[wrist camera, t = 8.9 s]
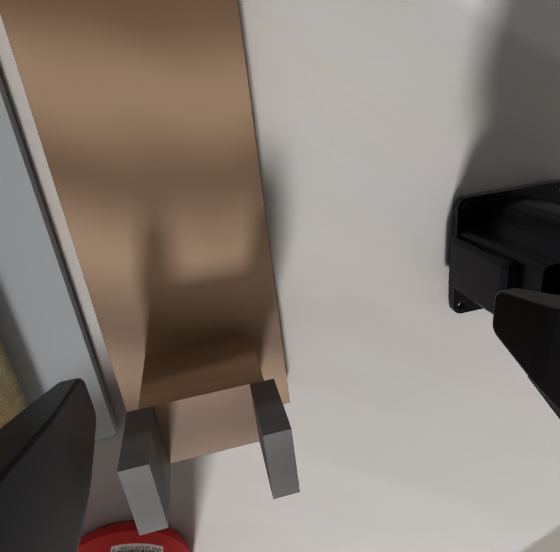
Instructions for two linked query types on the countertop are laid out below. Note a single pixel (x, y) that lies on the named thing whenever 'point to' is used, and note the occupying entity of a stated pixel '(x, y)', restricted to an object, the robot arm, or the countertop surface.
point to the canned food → (132, 540)
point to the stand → (164, 224)
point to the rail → (9, 391)
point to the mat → (39, 288)
